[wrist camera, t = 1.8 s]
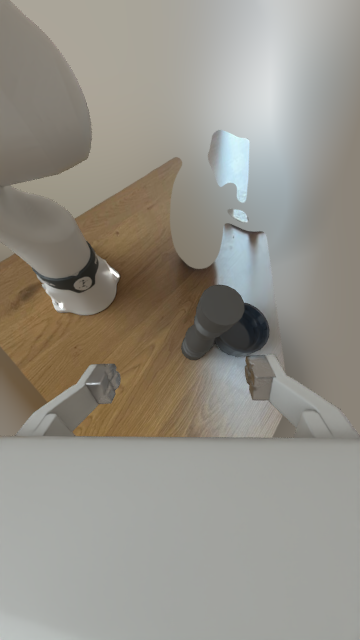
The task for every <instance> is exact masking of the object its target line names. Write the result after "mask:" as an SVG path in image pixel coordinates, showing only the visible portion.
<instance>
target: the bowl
mask: <svg viewBox="0 0 360 640" xmlns="http://www.w3.org/2000/svg"><path fill="white" fill-rule="evenodd" d="M268 338H269V326H268V322H267V320H266V318H265V317H264V315H263V314H262V313H261V312H260V311H259V310H258V309H257V308H256V307H254V306H252V305H250V304H248V303H244V313H243V315H242V318H241V319H240V320H239V321H238V322H237V323H236V324H234V325H233V326H232V327H231V328H230V329H229V330H228V331H226V332H224V333H223V334H221V335H220V336H219V337H215V344H216V345H217V346H218V347H219V348H220V349H221V350H222V351H223V352H225V353H227V354H229V355H232V356H235V357H241V356H246V355H248V354H251V353H253V352H256V351H258V350H260V349H261V348H262V347H263V346H264V345H265V344H266V342H267V340H268Z"/></svg>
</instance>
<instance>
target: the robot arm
mask: <svg viewBox="0 0 360 640" xmlns="http://www.w3.org/2000/svg"><path fill="white" fill-rule="evenodd" d="M91 130H92V129H91V121H90V115H89V110H88V107H87V103H86V100H85V97H84V94H83V92H82V89H81V87H80V85H79V83H78V81H77V78H76V77H75V75H74V73H73V71H72V69H71V67H70V66H69V64H68V63H67V61H66V60H65V58H64V57H63V55H62V54H61V53H60V51H59V50H58V49H57V47H56V46H55V44H54V43H53V42H52V41H51V40H50V38H49V37H48V36H47V35H46V34H45V33H44V32H43V31H42V30H41V29H40V28H39V27H38V26H37V25H36V24H34V23H33V22H32V21H31V20H30V19H29V18H28V17H26V16H25V15H24V14H23V13H22V12H21V11H20V10H19V9H18V8H17V7H16V6H15V5H14V4H13V3H12V2H11V1H10V0H0V242H1V243H2V244H4V245H5V246H7V247H8V248H9V249H11V250H12V251H13V252H14V253H16V254H17V255H18V256H19V257H21V258H22V259H23V260H24V261H26V262H27V263H28V264H29V265H30V266H31V267H32V269H33V271H34V272H35V273H36V274H37V277H38V279H39V280H40V281H41V282H42V283H44V284H42V286H43V288H44V289H45V290H46V293H47V294H48V295H49V296H50V297H51V299H52V302H53V305H54V308H55V310H56V311H58V312H61V313H63V312H72V313H75V314H79V315H92V314H95V313H98V312H100V311H102V310H104V309H105V308H107V307H108V306H109V305H110V304H111V303H112V301H113V300H114V298H115V295H116V288H117V283H118V281H119V279H120V275H119V273H118V272H117V271H116V270H114V269H113V268H112V267H111V266H109V265H108V264H107V262H106V261H105V260H103V259H102V258H101V257H99V256H98V255H96V253H95V251H94V249H93V248H92V247H91V245H90V244H89V243H88V242H87V241H86V240H85V238H84V236H83V234H82V233H81V231H80V229H79V227H78V225H77V223H76V221H75V220H74V218H73V216H72V215H71V214H70V212H69V211H68V210H66V209H65V208H64V207H63V206H61V205H59V204H58V203H57V202H55V201H53V200H51V199H49V198H47V197H44V196H40V195H36V194H31V193H27V192H24V191H21V190H18V189H16V188H14V187H12V186H10V185H12V184H17V183H21V182H26V181H30V180H35V179H40V178H44V177H48V176H53V175H57V174H59V173H62V172H64V171H66V170H68V169H70V168H72V167H74V166H75V165H77V164H79V163H81V162H82V161H84V160H86V159H87V158H88V156H89V153H90V148H91V140H92V131H91ZM58 304H59V305H58ZM245 361H246V364H247V365H246V366H245V376H246V380H247V383H248V384H249V385H250V388H249V390H250V393H251V397H252V400H269V402H270V403H271V404H272V405H273V406H274V407H275V408H276V409H277V410H278V411H279V412H280V413H281V414H282V415H283V416H284V417H285V418H286V419H287V420H288V421H289V422H291V424H292V425H293V426H294V427H296V431H295V434H294V437H293V438H234V437H92V436H75V435H74V434H73V432H72V431H73V430H74V429H75V428H76V427H77V426H78V425H79V424H80V423H81V422H82V421H83V420H84V419H85V418H86V417H87V416H88V415H89V414H90V413H91V412H92V411H93V410H94V409H95V408H96V407H97V406H98V404H108V403H112V401H113V398H114V396H115V394H116V393H115V390H116V389H117V388H118V387H119V385H120V374H119V373H118V372H117V371H116V366H115V364H92V365H90V366H89V367H88V368H87V370H86V371H85V373H84V374H83V375H82V377H81V378H80V380H79V381H78V383H77V384H76V385H73V386H72V387H70V388H69V389H67V390H66V391H64V392H63V393H61V394H60V395H59V396H57V397H56V398H54V399H53V400H51V401H50V402H48V403H47V404H46V405H44V406H43V407H41V408H40V409H38V410H37V411H36V412H34V413H33V414H32V415H31V416H30V418H29V419H28V420H27V421H26V423H25V424H24V425H23V426H22V428H21V429H20V430H19V431H18V432H17V434H16V435H15V436H0V640H360V435H359V434H358V433H357V431H356V430H355V429H354V427H353V426H352V425H351V423H350V422H349V421H348V419H347V418H346V416H345V415H344V414H343V412H342V411H341V409H339V408H338V407H336V406H335V405H333V404H332V403H330V402H328V401H327V400H325V399H324V398H322V397H321V396H319V395H318V394H316V393H315V392H313V391H311V390H310V389H308V388H307V387H305V386H304V385H302V384H301V383H299V382H297V381H296V380H295V379H293V378H292V377H287V375H286V373H285V371H284V370H283V368H282V366H281V364H280V363H279V361H278V359H277V357H276V356H275V355H274V354H270V355H256V356H246V360H245Z"/></svg>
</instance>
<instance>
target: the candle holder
mask: <svg viewBox="0 0 360 640" xmlns="http://www.w3.org/2000/svg"><path fill="white" fill-rule="evenodd" d="M243 313H244V302H243V300H242V297H241V295H240V294H239V293H238V292H237V291H236V290H235V289H232V288H230V287H228V286H225V285H215V286H211V287H209V288H208V289H206V290H205V291H204V292H203V294H202V296H201V298H200V301H199V303H198V306H197V310H196V316H195V320H194V325H192V326H191V327H190V328H189V329H188V330H187V332H186V336H185V338H184V340H183V342H182V348H181V349H182V353H183V354H184V356H185V357H186V358H188V359H190V360H197V359H200V358H201V357H202V356H203V355H204V354H205V353H206V352H207V351H208V350H209V349H211V348H212V346H213V344H214V342H215V337H219V336H220V335H221V334H223V333H224V332H226V331H228V330H229V329H230V328H231V327H232V326H233V325H234V324H236V323H237V322H238V321H239V320H240V319H241V318H242V315H243Z"/></svg>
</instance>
